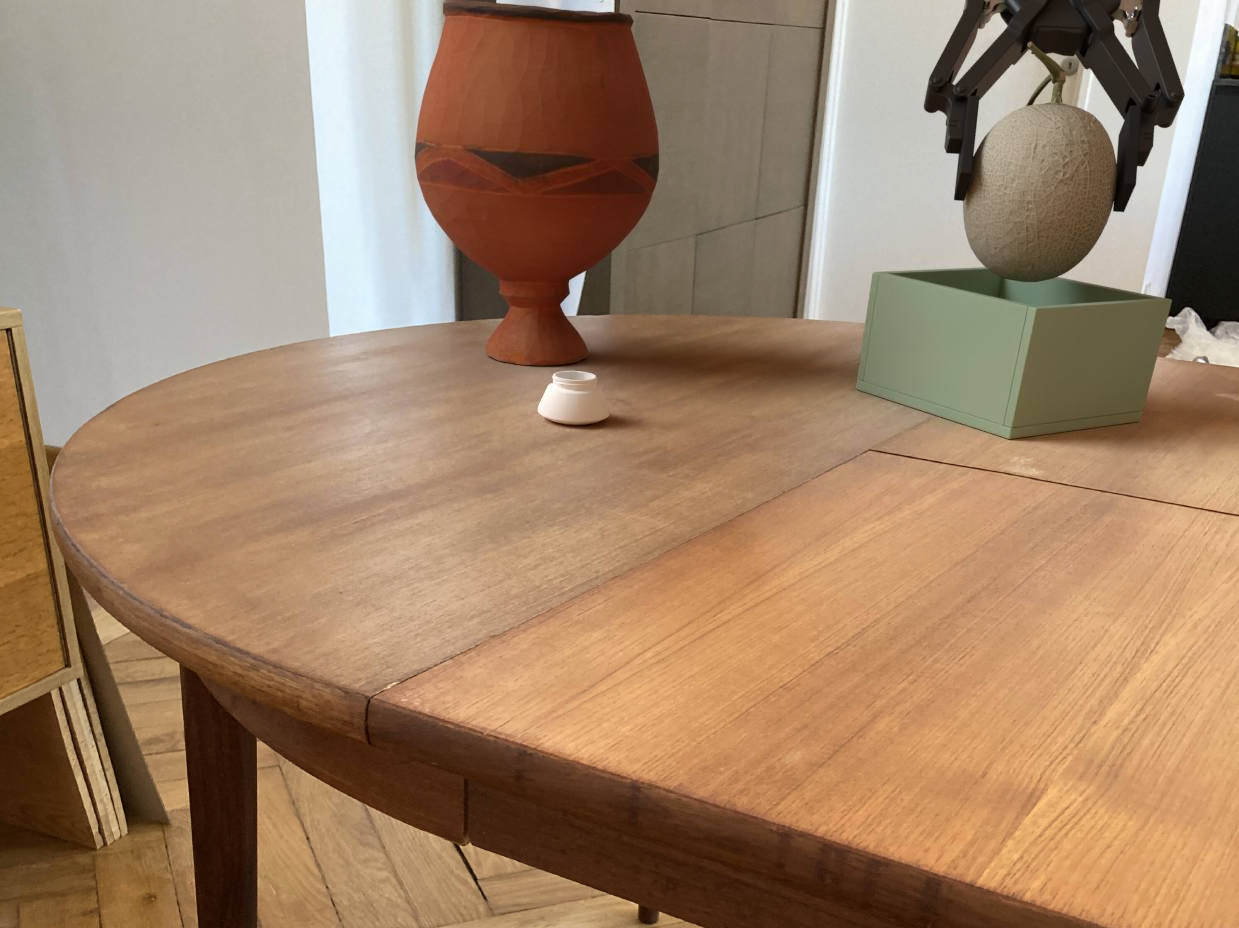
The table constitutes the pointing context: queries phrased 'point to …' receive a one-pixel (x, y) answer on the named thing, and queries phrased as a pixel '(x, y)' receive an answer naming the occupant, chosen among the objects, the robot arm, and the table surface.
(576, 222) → the goblet
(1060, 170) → the fruit
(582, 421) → the white jar
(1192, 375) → the table surface
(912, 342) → the bin
